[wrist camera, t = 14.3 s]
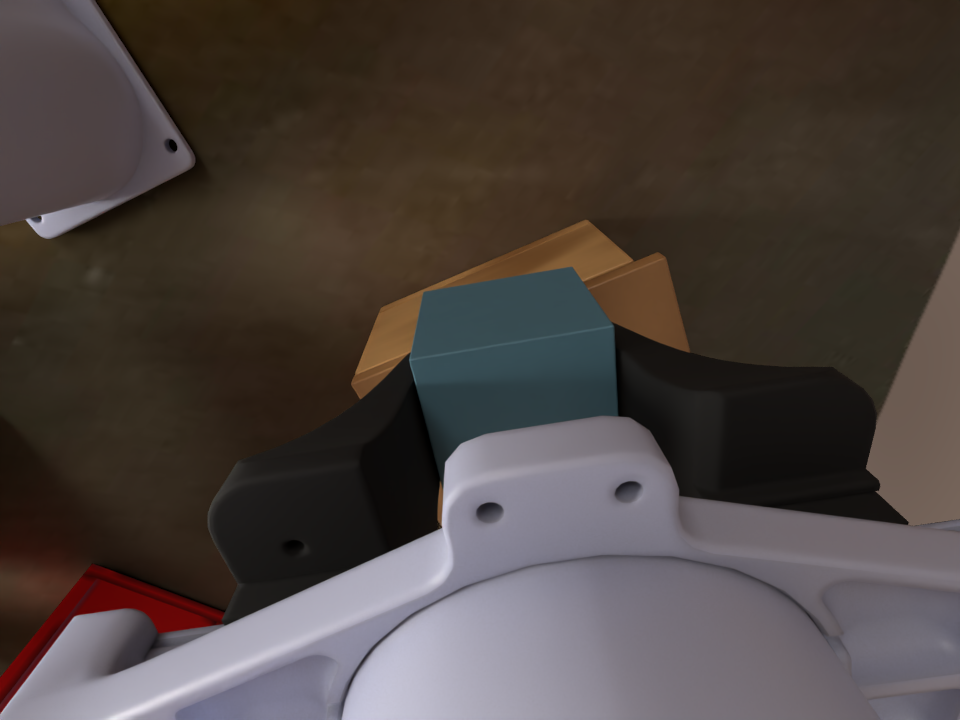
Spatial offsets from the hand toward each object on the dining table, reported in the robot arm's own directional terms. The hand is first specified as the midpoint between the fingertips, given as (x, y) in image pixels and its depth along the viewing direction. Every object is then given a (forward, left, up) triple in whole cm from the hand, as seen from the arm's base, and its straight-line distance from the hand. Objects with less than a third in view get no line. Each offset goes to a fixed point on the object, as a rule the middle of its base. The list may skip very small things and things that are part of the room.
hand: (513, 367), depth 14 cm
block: (0, 0, -1) cm, 1 cm away
